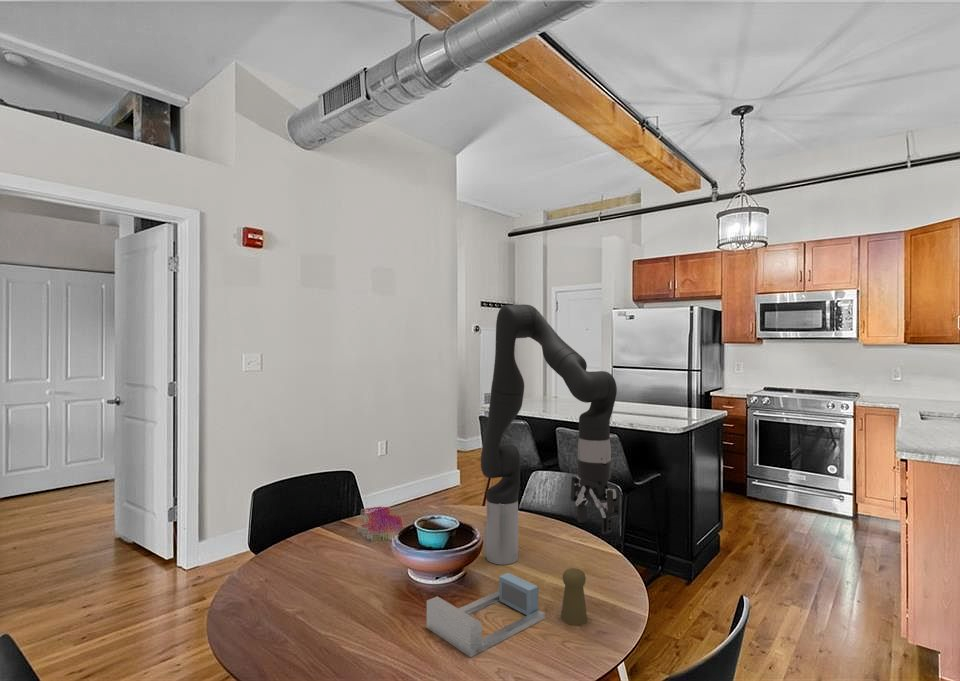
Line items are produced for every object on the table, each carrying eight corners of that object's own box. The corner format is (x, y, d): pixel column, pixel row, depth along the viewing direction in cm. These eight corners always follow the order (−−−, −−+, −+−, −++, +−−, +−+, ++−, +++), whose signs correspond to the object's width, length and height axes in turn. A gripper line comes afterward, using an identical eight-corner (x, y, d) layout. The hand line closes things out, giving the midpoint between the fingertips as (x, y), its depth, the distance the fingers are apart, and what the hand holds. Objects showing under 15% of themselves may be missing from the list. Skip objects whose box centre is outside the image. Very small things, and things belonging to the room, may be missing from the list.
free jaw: (499, 601, 128) (498, 576, 128) (508, 596, 130) (508, 572, 130) (529, 616, 121) (529, 590, 121) (538, 612, 123) (538, 586, 123)
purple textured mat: (359, 515, 195) (359, 501, 195) (400, 512, 198) (400, 498, 198) (356, 546, 165) (356, 529, 165) (405, 542, 168) (405, 526, 168)
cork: (587, 626, 117) (587, 577, 117) (560, 624, 118) (560, 575, 118) (587, 613, 123) (587, 566, 123) (561, 610, 124) (561, 564, 124)
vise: (426, 627, 117) (426, 600, 117) (499, 595, 132) (499, 571, 132) (470, 657, 106) (470, 627, 106) (544, 618, 121) (544, 592, 121)
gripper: (562, 453, 126) (562, 520, 126) (602, 466, 114) (602, 540, 114) (586, 450, 130) (586, 515, 130) (628, 462, 117) (628, 534, 117)
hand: (593, 527), depth 122 cm, fingers open, 8 cm apart
